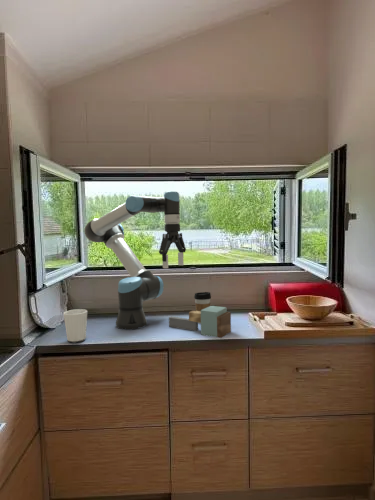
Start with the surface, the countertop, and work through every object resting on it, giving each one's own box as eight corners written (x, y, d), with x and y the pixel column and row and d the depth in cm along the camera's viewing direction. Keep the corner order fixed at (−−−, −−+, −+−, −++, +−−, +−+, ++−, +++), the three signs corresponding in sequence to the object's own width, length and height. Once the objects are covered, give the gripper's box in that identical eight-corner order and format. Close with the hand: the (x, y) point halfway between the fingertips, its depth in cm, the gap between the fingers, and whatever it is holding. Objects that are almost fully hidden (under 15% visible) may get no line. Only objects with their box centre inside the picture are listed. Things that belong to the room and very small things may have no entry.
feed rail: (169, 326, 167) (168, 317, 167) (171, 325, 169) (171, 316, 169) (195, 330, 159) (195, 321, 159) (198, 329, 161) (198, 320, 161)
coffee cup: (210, 324, 168) (209, 294, 167) (193, 324, 170) (192, 294, 169) (212, 320, 176) (212, 291, 175) (196, 319, 178) (195, 291, 177)
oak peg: (189, 320, 160) (188, 312, 159) (193, 318, 163) (193, 310, 163) (215, 325, 152) (215, 316, 152) (219, 322, 156) (219, 314, 155)
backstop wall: (217, 337, 149) (216, 316, 148) (226, 331, 157) (226, 311, 157) (221, 337, 148) (221, 317, 147) (230, 331, 156) (230, 312, 156)
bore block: (201, 334, 153) (200, 310, 152) (211, 328, 162) (211, 305, 161) (217, 337, 149) (216, 312, 148) (226, 331, 157) (226, 307, 157)
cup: (91, 341, 147) (89, 312, 146) (67, 346, 142) (65, 315, 141) (85, 335, 156) (84, 308, 155) (62, 339, 151) (61, 311, 150)
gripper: (163, 223, 155) (165, 269, 157) (191, 223, 177) (192, 264, 178) (150, 223, 159) (152, 269, 161) (179, 223, 181) (180, 263, 182)
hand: (173, 266), depth 169 cm, fingers open, 13 cm apart
